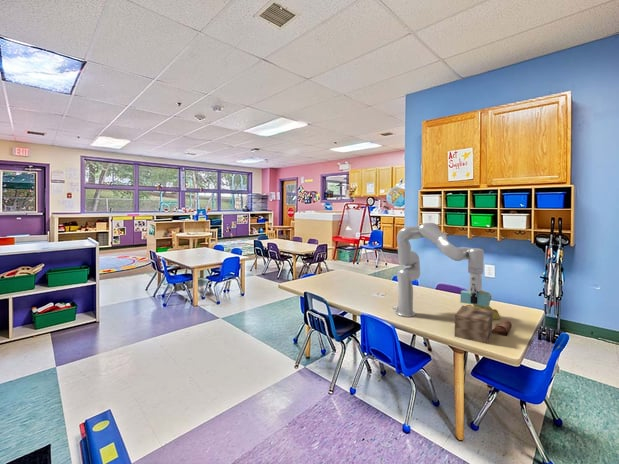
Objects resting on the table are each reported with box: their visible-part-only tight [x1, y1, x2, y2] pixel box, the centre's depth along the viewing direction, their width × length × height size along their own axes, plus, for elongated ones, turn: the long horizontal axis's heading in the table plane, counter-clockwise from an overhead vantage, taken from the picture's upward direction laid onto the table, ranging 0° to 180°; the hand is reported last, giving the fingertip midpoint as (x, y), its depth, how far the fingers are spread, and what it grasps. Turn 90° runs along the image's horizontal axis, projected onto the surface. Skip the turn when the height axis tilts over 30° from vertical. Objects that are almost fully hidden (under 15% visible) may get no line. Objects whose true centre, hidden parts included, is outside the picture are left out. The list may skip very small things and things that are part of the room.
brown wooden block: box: [454, 305, 493, 345], centre depth 172 cm, size 16×20×12 cm
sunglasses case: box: [491, 320, 512, 337], centre depth 178 cm, size 18×7×7 cm
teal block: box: [459, 290, 491, 307], centre depth 171 cm, size 14×5×6 cm, turn 54°
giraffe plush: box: [465, 287, 501, 321], centre depth 199 cm, size 20×24×19 cm
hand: (474, 301), depth 171 cm, fingers closed on teal block, 5 cm apart
